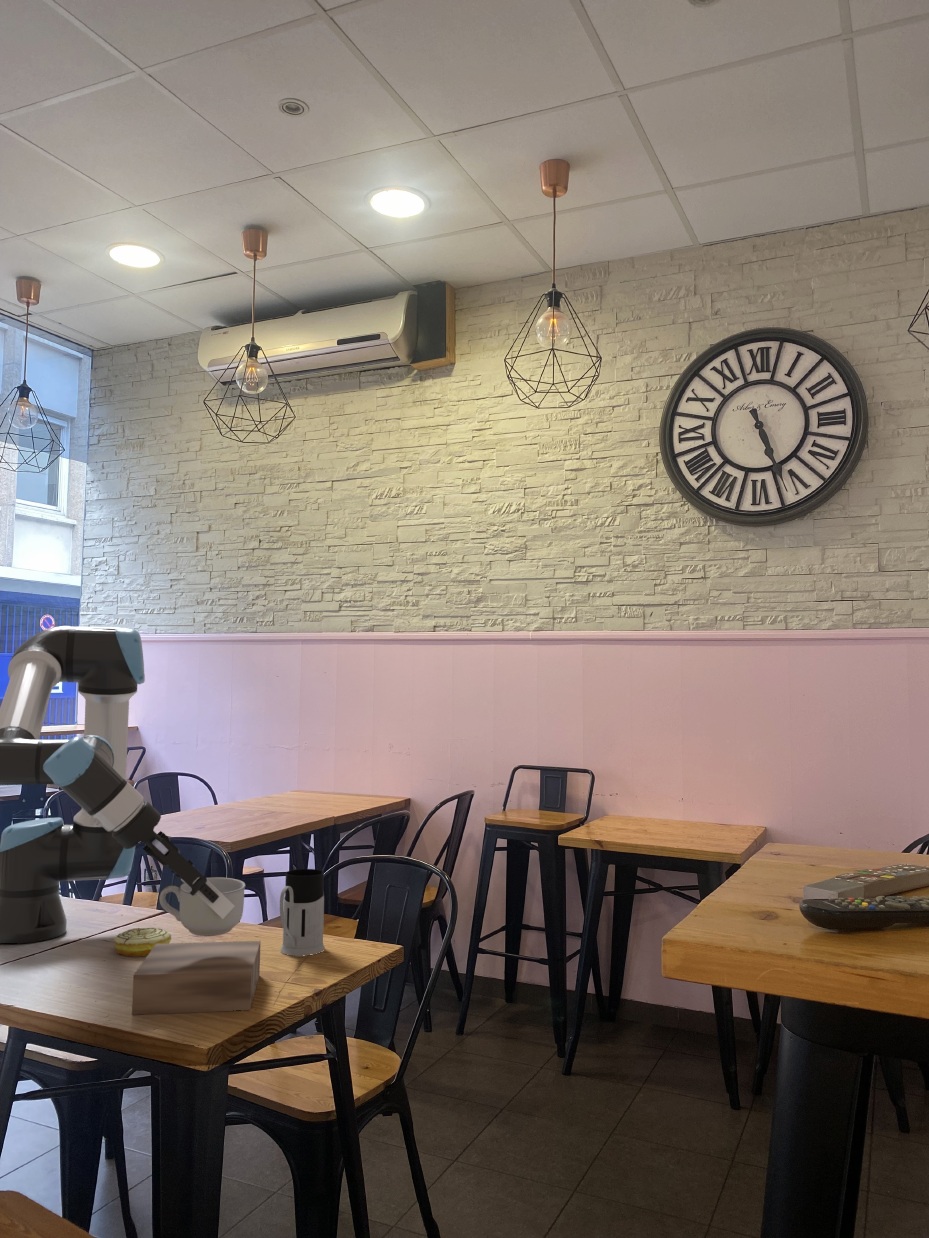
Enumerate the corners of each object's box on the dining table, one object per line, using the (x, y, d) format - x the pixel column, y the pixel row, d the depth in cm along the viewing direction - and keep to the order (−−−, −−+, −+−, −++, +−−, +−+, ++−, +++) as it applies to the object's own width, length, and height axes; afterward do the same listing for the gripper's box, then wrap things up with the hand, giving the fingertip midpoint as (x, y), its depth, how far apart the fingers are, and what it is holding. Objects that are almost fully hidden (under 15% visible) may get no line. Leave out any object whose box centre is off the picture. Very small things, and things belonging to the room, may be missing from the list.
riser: (154, 978, 154) (156, 943, 155) (259, 975, 157) (260, 940, 158) (131, 1014, 137) (133, 974, 137) (250, 1009, 139) (251, 970, 140)
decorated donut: (165, 941, 179) (166, 922, 180) (174, 954, 170) (175, 934, 170) (111, 947, 175) (112, 927, 175) (116, 961, 165) (117, 940, 166)
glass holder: (332, 946, 176) (334, 869, 178) (300, 966, 163) (303, 883, 164) (292, 942, 179) (294, 867, 180) (258, 961, 165) (260, 880, 167)
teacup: (251, 924, 153) (253, 877, 154) (231, 941, 143) (233, 891, 143) (174, 922, 154) (176, 875, 155) (148, 938, 144) (150, 888, 144)
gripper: (101, 825, 152) (189, 908, 158) (119, 844, 132) (219, 938, 138) (135, 793, 155) (220, 875, 161) (157, 806, 135) (254, 901, 141)
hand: (220, 905), depth 150 cm, fingers closed on teacup, 11 cm apart
